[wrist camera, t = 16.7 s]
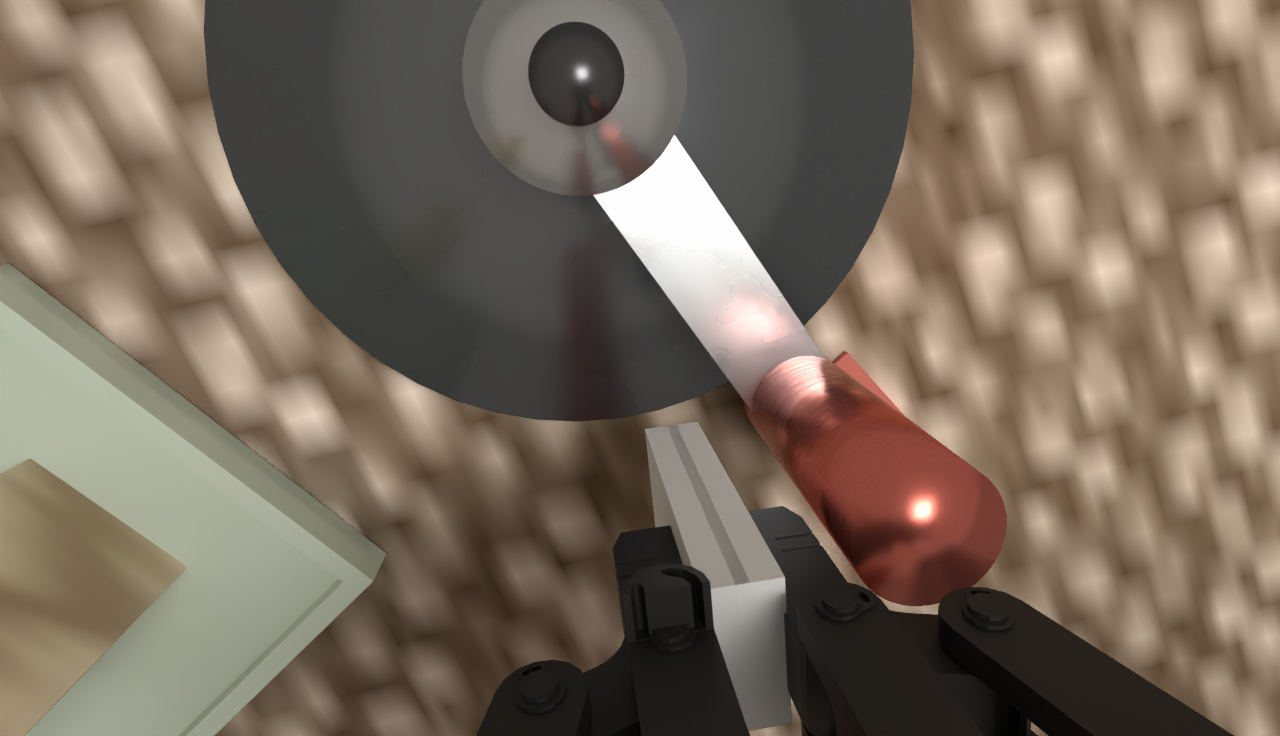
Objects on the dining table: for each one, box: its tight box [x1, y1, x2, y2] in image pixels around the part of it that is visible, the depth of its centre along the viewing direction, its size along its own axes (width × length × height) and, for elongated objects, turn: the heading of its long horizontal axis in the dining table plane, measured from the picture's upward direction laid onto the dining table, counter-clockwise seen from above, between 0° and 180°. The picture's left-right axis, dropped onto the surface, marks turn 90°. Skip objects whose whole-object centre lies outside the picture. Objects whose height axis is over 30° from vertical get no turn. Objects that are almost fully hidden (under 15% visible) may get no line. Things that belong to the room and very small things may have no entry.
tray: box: [0, 264, 387, 736], centre depth 20 cm, size 13×13×2 cm
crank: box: [462, 0, 1007, 606], centre depth 15 cm, size 14×5×9 cm, turn 36°
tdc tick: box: [833, 352, 903, 415], centre depth 22 cm, size 4×1×1 cm, turn 44°
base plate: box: [204, 0, 914, 421], centre depth 16 cm, size 18×18×4 cm
